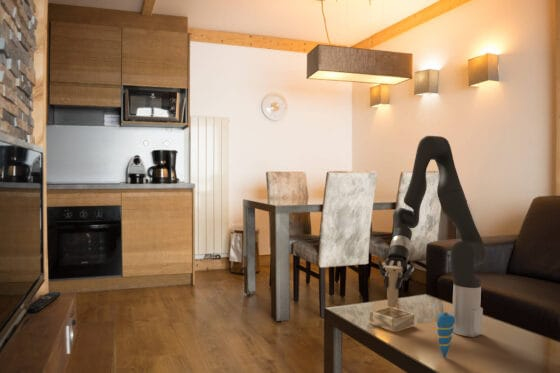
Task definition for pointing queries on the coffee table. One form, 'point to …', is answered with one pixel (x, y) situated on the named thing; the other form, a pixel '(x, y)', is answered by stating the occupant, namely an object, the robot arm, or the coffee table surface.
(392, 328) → the socket block
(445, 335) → the ornament
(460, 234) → the robot arm
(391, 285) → the handle
